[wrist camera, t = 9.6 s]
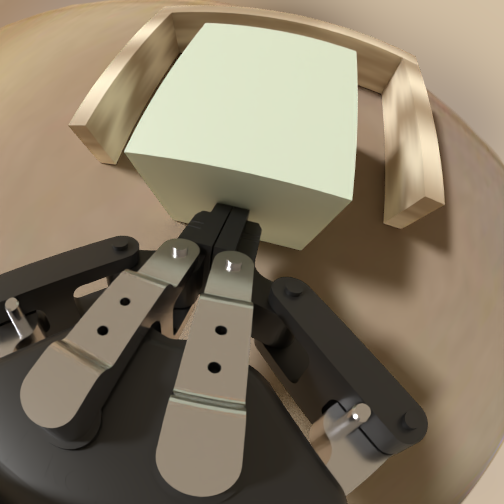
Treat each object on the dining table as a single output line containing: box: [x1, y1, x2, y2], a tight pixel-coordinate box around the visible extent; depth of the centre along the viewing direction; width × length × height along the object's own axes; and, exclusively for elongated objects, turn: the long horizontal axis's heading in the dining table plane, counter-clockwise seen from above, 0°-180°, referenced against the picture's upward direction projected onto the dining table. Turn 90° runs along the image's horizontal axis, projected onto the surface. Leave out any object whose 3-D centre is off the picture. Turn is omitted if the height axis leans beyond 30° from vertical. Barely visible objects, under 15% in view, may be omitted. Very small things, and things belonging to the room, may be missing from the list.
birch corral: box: [68, 5, 445, 229], centre depth 16 cm, size 14×22×5 cm, turn 77°
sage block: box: [124, 23, 358, 250], centre depth 13 cm, size 9×8×8 cm
